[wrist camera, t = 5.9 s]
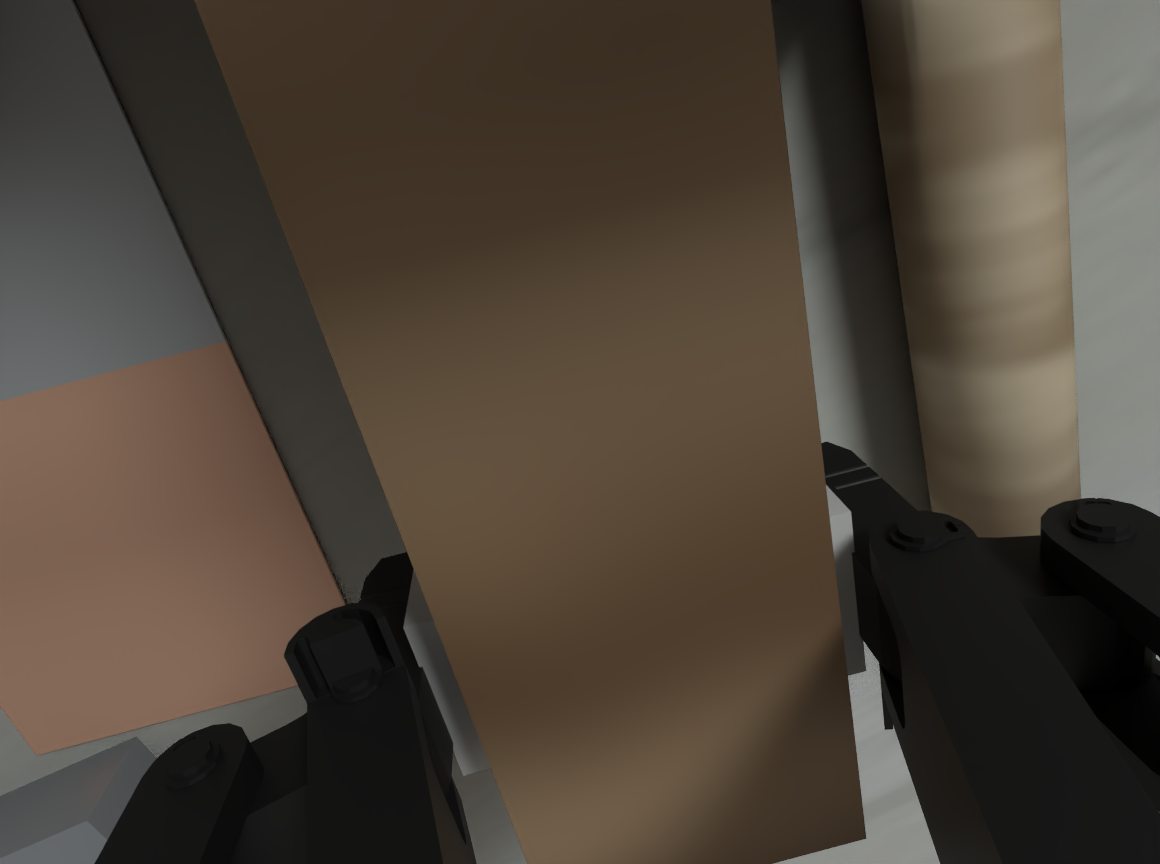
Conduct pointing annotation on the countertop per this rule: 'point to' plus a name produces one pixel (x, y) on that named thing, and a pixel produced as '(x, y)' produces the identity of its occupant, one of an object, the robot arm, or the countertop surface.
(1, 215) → the runner
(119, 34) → the countertop surface
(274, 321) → the countertop surface
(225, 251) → the countertop surface
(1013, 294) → the dowel
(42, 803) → the tee stick
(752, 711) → the natural wood brick
